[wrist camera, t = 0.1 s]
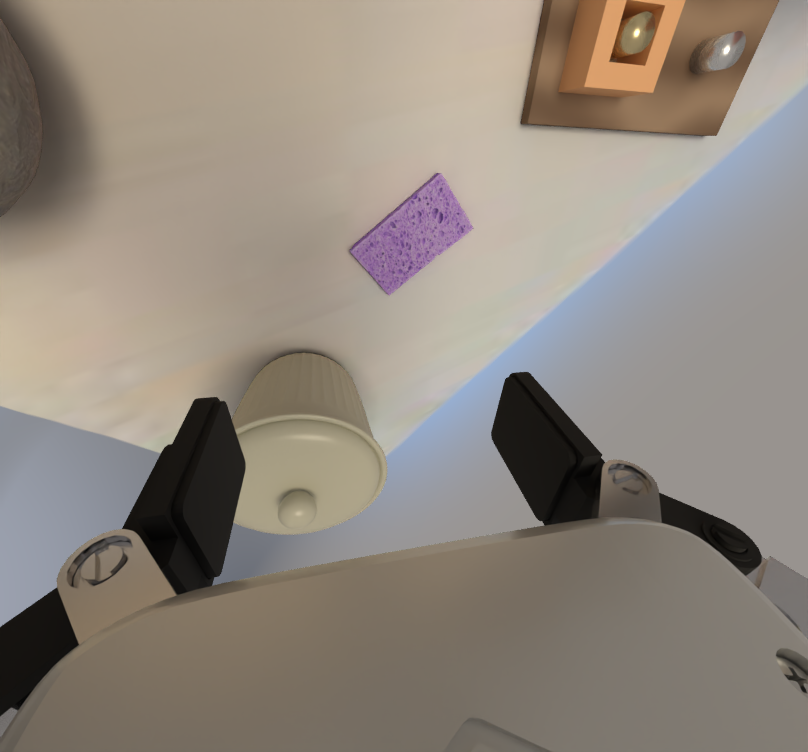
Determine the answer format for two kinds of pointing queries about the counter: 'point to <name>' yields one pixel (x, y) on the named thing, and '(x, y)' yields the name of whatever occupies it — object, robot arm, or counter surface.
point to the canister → (305, 448)
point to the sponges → (412, 235)
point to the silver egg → (717, 52)
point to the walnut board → (676, 86)
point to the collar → (594, 43)
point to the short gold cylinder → (633, 35)
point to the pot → (17, 123)
